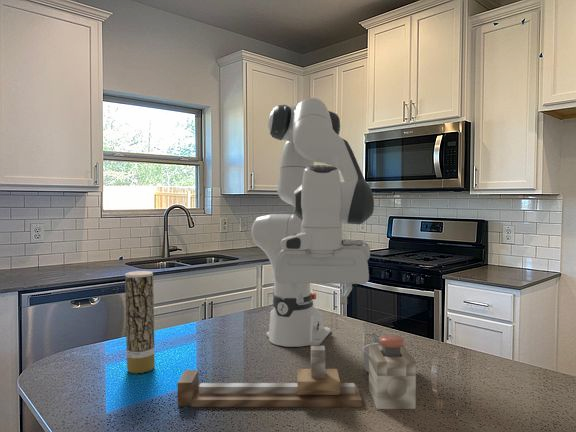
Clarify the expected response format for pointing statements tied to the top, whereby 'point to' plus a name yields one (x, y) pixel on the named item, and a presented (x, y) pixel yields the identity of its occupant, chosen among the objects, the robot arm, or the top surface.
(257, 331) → the top surface
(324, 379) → the carriage
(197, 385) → the rail track
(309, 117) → the robot arm
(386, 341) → the button
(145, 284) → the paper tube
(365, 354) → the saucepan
